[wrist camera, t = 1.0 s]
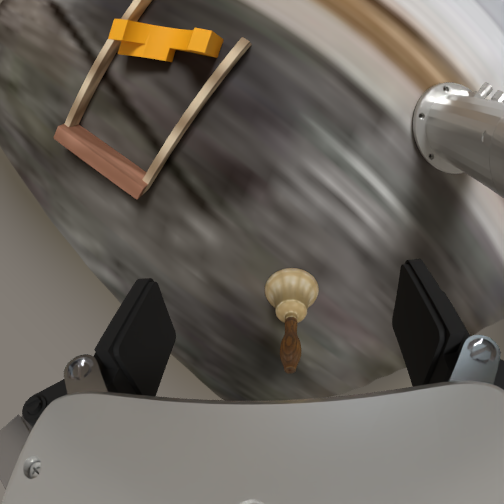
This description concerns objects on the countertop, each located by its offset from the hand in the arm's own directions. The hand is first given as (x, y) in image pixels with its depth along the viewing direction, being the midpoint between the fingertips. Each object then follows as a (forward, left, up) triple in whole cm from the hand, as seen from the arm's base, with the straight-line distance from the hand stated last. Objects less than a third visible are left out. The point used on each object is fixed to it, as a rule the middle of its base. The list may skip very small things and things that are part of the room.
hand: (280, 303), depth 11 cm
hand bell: (+16, +15, -30) cm, 37 cm away
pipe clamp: (-3, -19, -30) cm, 36 cm away
